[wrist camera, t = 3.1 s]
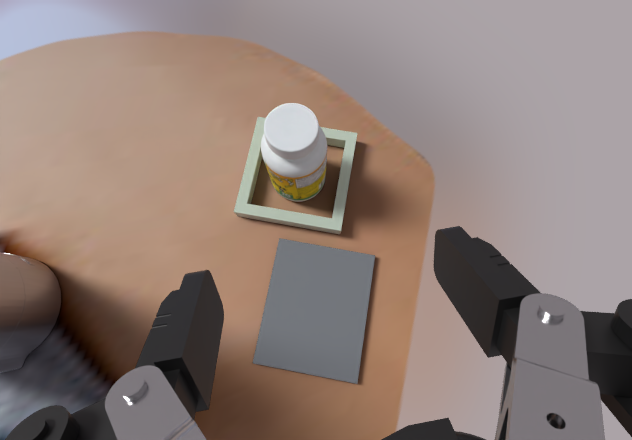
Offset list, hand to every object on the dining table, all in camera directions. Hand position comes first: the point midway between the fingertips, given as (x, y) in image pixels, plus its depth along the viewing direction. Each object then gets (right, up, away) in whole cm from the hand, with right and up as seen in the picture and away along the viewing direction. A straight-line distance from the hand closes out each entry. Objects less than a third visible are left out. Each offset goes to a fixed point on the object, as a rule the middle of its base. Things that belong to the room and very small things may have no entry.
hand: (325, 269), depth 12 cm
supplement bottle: (-2, +6, +22) cm, 23 cm away
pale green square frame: (-2, +6, +21) cm, 22 cm away
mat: (0, -6, +18) cm, 19 cm away
